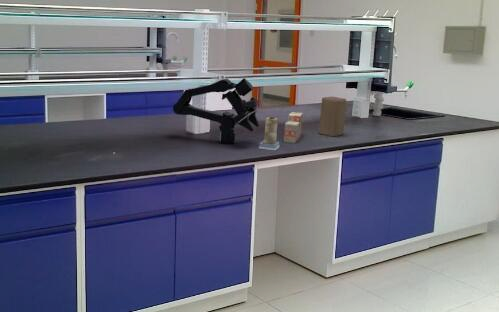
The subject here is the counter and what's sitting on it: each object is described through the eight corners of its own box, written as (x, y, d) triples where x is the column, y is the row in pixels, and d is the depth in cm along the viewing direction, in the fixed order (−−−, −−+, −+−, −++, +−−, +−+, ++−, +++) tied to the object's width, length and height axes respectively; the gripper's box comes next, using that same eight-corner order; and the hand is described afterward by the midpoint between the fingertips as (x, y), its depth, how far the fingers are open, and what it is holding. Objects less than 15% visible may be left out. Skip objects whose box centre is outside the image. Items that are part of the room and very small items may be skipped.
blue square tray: (258, 148, 264) (259, 143, 263) (263, 145, 271) (263, 140, 271) (275, 150, 262) (275, 145, 261) (279, 147, 269) (279, 142, 268)
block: (317, 133, 306) (321, 97, 302) (328, 131, 314) (332, 96, 309) (333, 137, 300) (336, 100, 295) (343, 135, 307) (347, 98, 302)
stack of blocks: (295, 143, 280) (297, 119, 277) (283, 142, 281) (285, 117, 278) (301, 135, 300) (303, 112, 297) (289, 134, 302) (291, 111, 299)
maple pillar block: (263, 145, 265) (265, 117, 262) (266, 144, 269) (268, 115, 266) (273, 147, 264) (275, 118, 261) (275, 145, 268) (277, 116, 265)
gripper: (243, 95, 255) (263, 123, 255) (255, 89, 272) (273, 115, 273) (224, 109, 259) (244, 136, 260) (237, 102, 276) (256, 127, 277)
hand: (255, 128), depth 267 cm, fingers open, 9 cm apart
